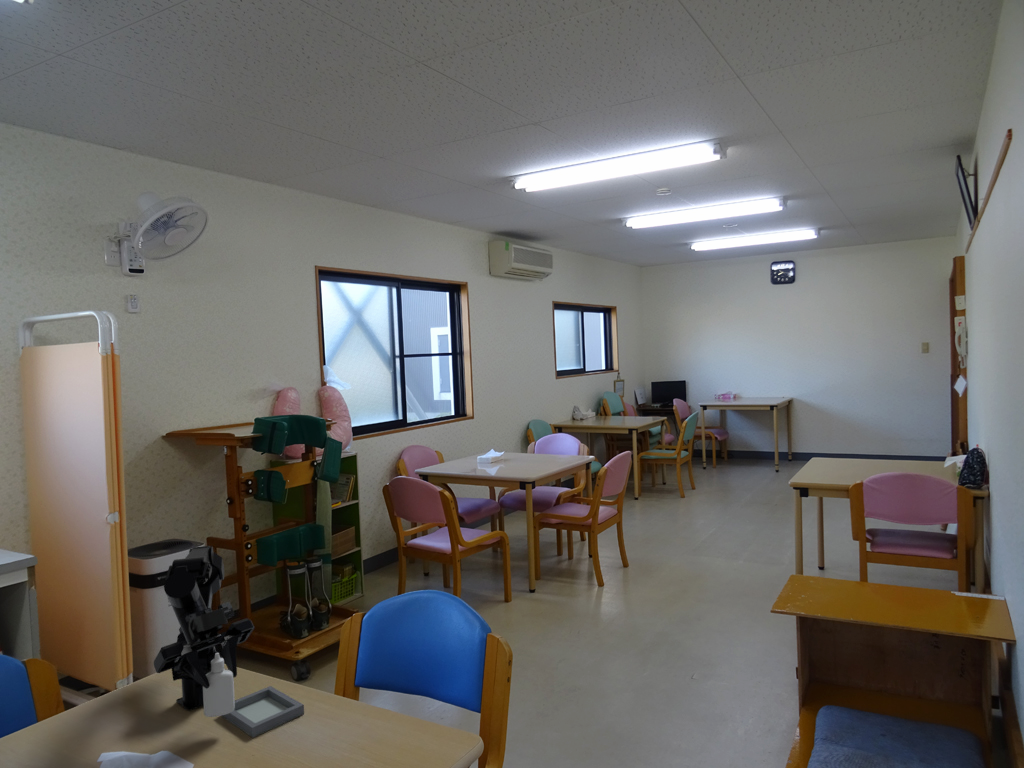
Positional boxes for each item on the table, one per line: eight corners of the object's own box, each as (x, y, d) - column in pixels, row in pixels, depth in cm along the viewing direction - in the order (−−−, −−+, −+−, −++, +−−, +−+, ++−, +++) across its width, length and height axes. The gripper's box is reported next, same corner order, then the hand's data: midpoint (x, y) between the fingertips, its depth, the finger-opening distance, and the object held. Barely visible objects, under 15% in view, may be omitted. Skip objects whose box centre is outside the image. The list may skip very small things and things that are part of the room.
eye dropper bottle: (213, 705, 140) (211, 647, 139) (238, 707, 139) (236, 649, 138) (200, 716, 136) (197, 657, 135) (226, 719, 135) (223, 659, 134)
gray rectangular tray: (220, 715, 144) (220, 706, 144) (270, 694, 153) (270, 685, 153) (252, 737, 135) (252, 727, 135) (304, 714, 144) (303, 704, 144)
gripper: (157, 607, 132) (187, 680, 125) (247, 580, 146) (279, 644, 139) (141, 637, 137) (169, 708, 131) (230, 608, 151) (259, 671, 145)
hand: (222, 681), depth 136 cm, fingers closed on eye dropper bottle, 5 cm apart
